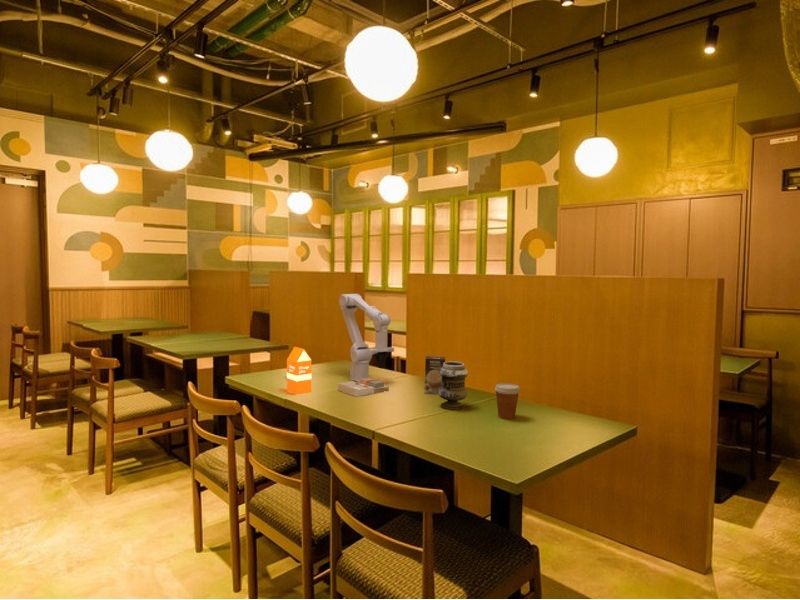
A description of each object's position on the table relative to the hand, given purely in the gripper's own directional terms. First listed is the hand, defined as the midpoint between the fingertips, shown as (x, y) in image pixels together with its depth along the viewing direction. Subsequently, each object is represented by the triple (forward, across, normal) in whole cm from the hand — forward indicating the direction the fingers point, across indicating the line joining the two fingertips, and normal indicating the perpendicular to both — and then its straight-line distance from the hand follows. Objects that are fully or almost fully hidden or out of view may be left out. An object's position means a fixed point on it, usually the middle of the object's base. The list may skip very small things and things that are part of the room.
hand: (381, 367), depth 246 cm
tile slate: (+6, -8, -7) cm, 12 cm away
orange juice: (+9, -37, +12) cm, 40 cm away
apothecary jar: (+9, +1, -46) cm, 47 cm away
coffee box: (+9, +11, -26) cm, 29 cm away
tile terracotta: (+6, -8, 0) cm, 10 cm away
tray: (+8, -17, -4) cm, 19 cm away
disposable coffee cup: (+9, +7, -70) cm, 70 cm away
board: (+8, -8, -4) cm, 12 cm away
